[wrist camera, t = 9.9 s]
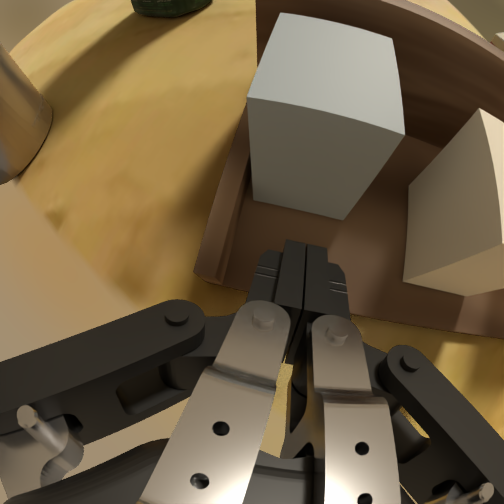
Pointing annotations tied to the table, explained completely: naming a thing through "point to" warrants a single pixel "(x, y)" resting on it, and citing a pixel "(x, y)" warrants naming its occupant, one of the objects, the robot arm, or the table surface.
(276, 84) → the grey blue block
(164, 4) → the coffee jar
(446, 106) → the tray
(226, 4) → the table surface
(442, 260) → the cream rectangular block
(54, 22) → the table surface
